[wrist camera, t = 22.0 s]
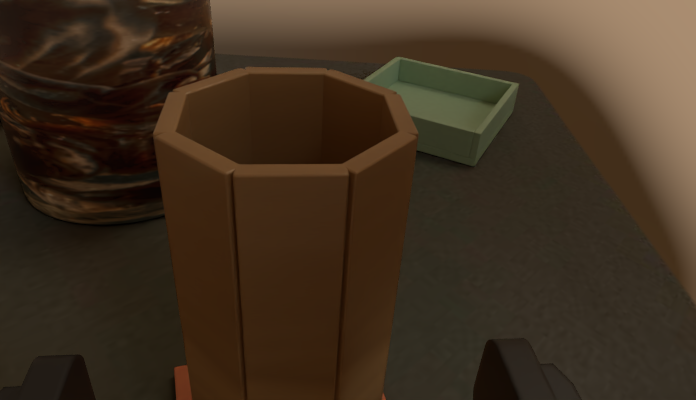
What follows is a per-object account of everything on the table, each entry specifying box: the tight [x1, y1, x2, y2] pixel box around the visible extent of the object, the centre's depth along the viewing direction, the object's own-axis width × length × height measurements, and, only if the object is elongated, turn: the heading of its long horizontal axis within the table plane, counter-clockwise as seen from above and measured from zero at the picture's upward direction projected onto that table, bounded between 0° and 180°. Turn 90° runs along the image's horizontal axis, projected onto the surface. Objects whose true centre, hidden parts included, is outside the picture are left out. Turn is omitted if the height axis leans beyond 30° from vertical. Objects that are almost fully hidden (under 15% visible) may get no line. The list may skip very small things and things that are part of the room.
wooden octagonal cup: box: [153, 67, 419, 400], centre depth 18 cm, size 6×6×13 cm
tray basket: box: [364, 57, 519, 166], centre depth 45 cm, size 11×11×3 cm
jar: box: [0, 0, 217, 225], centre depth 32 cm, size 12×12×15 cm
